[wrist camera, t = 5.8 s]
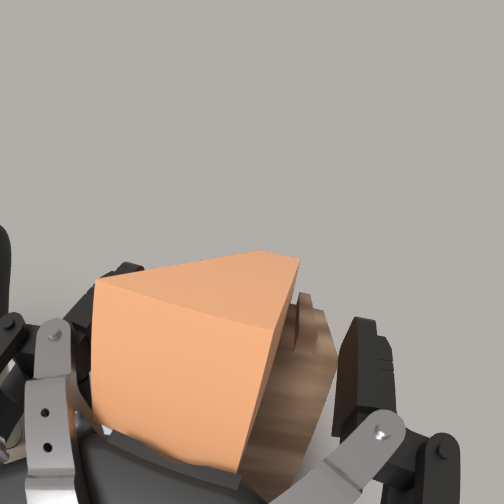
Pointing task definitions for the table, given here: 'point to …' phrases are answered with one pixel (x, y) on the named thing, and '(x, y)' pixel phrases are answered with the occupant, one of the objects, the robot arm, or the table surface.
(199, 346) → the beam
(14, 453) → the table surface
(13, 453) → the table surface
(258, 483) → the tall post
